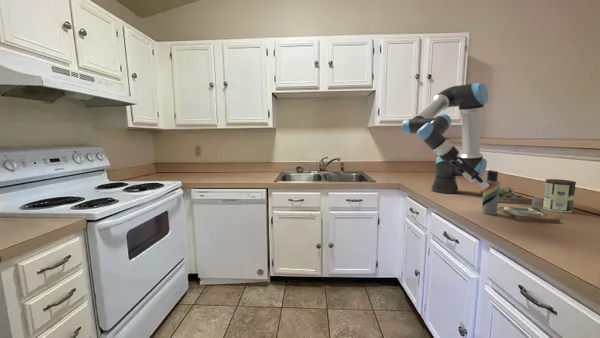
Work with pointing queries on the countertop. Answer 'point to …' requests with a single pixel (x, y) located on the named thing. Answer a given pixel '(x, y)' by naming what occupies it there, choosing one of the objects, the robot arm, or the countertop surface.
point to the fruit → (505, 192)
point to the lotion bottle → (491, 194)
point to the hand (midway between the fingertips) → (480, 184)
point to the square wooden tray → (513, 199)
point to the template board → (529, 213)
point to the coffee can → (559, 195)
